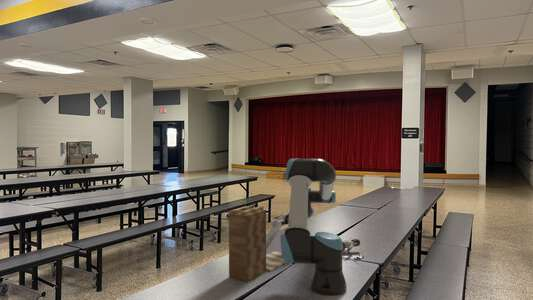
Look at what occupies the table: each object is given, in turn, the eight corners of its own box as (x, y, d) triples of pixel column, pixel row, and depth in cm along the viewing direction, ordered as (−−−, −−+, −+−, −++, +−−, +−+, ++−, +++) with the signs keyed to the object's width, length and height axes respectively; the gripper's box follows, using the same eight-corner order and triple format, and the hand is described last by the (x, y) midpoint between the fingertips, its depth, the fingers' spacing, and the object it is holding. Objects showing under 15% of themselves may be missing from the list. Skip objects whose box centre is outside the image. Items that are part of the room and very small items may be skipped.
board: (275, 252, 206) (275, 250, 206) (296, 256, 198) (296, 255, 198) (247, 265, 185) (247, 263, 185) (270, 271, 177) (270, 269, 177)
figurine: (303, 242, 212) (349, 231, 220) (305, 254, 213) (351, 243, 220) (318, 254, 190) (369, 241, 198) (320, 267, 191) (371, 255, 198)
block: (282, 218, 202) (280, 214, 200) (286, 219, 200) (285, 215, 199) (260, 250, 185) (258, 245, 184) (265, 251, 183) (263, 246, 182)
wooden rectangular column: (249, 267, 183) (249, 204, 182) (266, 271, 177) (266, 206, 176) (229, 277, 170) (228, 210, 169) (246, 282, 164) (245, 212, 163)
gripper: (309, 223, 208) (287, 233, 189) (284, 220, 217) (262, 228, 198) (309, 210, 208) (287, 218, 188) (284, 207, 217) (262, 215, 197)
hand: (274, 223), depth 193 cm, fingers closed on block, 3 cm apart
